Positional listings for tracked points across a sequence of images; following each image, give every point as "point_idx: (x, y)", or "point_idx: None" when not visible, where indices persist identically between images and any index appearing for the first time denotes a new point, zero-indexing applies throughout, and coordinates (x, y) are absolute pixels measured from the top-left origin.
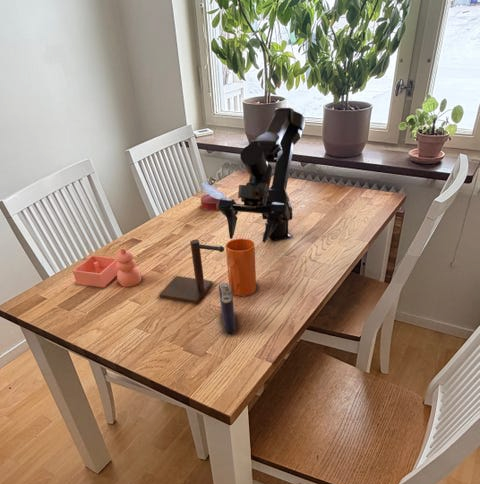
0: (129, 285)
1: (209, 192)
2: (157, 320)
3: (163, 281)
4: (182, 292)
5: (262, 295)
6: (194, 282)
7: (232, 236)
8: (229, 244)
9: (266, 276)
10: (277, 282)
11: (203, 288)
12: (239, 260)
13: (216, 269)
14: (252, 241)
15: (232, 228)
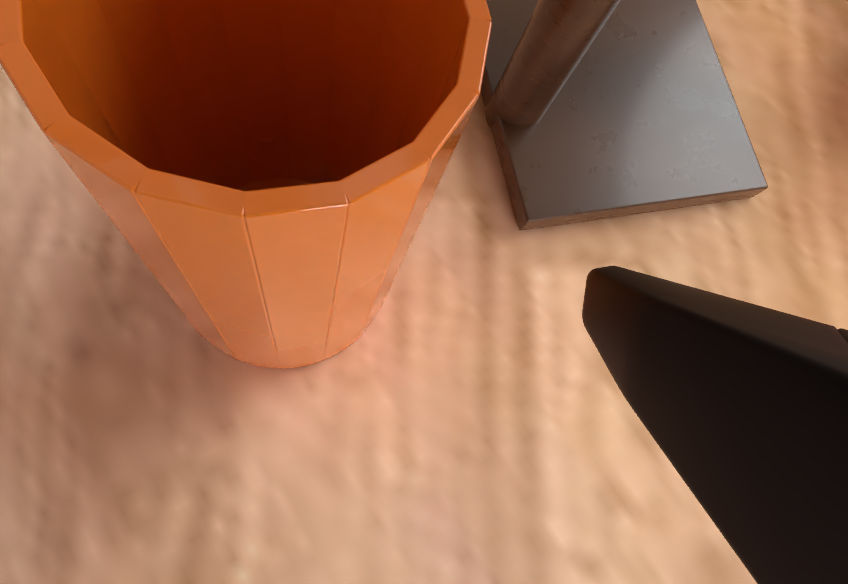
0: None
1: None
2: None
3: (790, 145)
4: (597, 44)
5: (92, 244)
6: (614, 162)
7: (602, 338)
8: (458, 42)
9: (184, 524)
10: (40, 477)
11: (499, 83)
12: None
13: (622, 423)
14: (94, 157)
15: (701, 358)
